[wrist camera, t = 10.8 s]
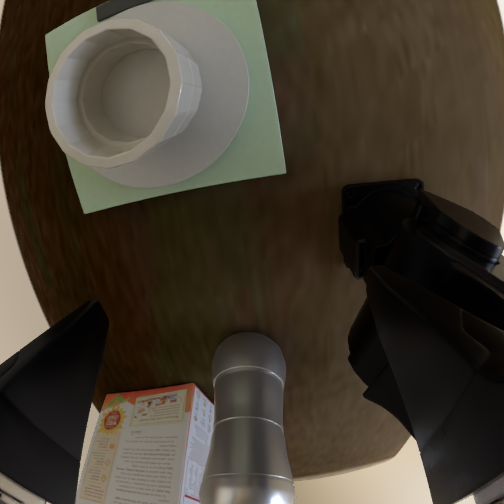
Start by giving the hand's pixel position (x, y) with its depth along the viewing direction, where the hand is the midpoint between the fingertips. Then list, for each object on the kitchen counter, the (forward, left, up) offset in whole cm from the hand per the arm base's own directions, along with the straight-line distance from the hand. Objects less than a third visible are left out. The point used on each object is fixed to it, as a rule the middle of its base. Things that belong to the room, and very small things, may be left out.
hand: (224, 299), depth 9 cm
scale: (+4, -8, -12) cm, 15 cm away
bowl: (+4, -7, -9) cm, 12 cm away
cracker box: (+15, +24, -12) cm, 31 cm away
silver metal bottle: (+2, +15, -12) cm, 20 cm away
